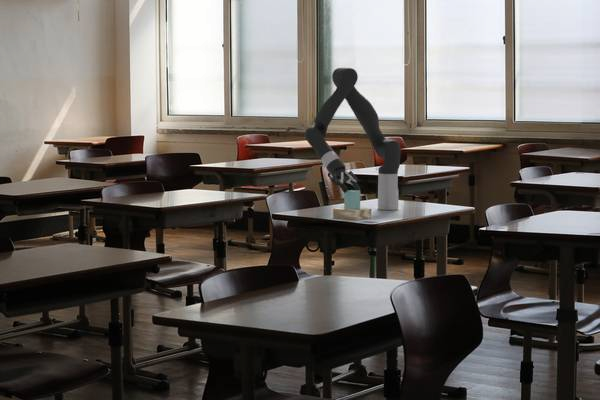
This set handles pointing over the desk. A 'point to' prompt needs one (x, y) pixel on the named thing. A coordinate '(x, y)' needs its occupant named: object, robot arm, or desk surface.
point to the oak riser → (352, 213)
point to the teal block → (352, 199)
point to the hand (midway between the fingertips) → (352, 190)
